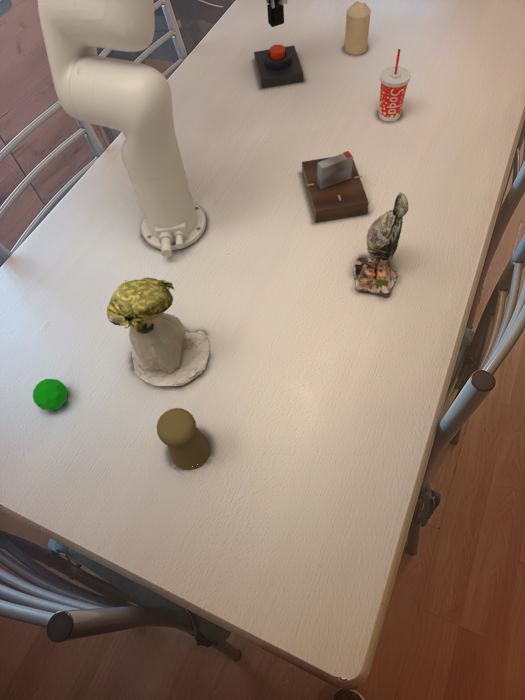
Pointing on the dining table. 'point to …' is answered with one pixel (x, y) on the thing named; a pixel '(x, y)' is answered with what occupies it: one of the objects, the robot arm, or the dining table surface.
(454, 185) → the dining table surface
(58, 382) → the polyhedron
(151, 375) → the mushroom figurine
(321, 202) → the dial knob base
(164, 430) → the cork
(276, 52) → the button
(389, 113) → the beverage cup
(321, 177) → the grey flat block
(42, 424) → the dining table surface
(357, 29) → the candle
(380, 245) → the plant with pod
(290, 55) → the button box
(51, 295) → the dining table surface
